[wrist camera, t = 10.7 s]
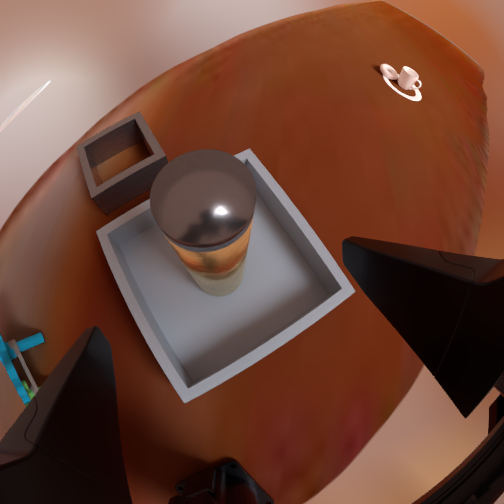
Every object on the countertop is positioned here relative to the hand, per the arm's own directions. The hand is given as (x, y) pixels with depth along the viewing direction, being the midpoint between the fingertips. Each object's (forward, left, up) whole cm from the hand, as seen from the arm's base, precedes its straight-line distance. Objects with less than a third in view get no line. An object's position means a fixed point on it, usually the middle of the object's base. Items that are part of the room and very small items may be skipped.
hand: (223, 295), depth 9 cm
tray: (+4, -1, -14) cm, 14 cm away
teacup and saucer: (+18, -46, -14) cm, 51 cm away
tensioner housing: (+18, +2, -14) cm, 23 cm away
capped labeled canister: (+4, -1, -13) cm, 14 cm away
